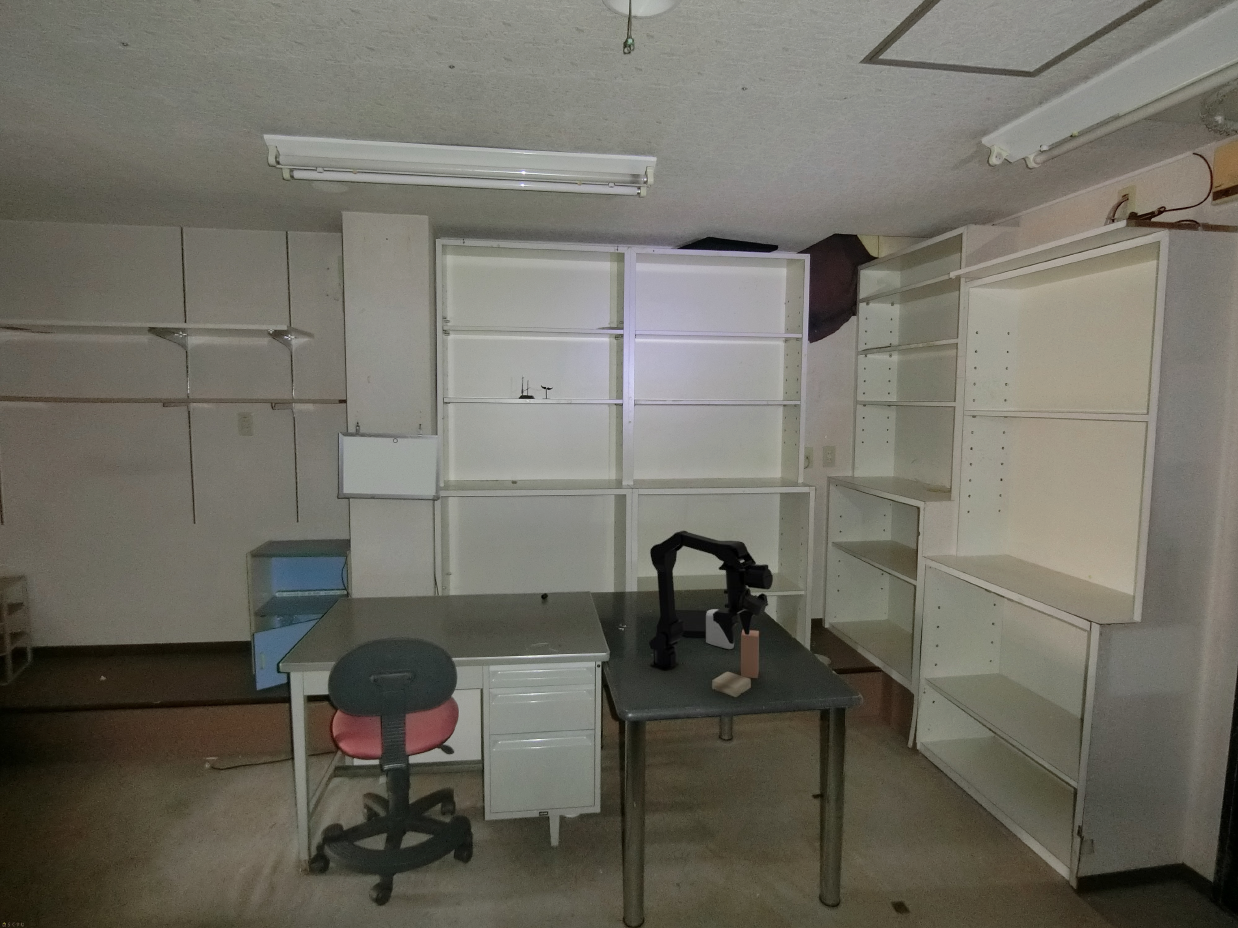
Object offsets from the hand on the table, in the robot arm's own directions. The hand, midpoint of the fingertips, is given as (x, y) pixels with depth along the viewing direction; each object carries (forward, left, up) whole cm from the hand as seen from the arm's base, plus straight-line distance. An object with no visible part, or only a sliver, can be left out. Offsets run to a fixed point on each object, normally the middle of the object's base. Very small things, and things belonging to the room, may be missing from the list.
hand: (739, 638), depth 183 cm
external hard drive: (-42, +33, -16) cm, 55 cm away
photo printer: (-23, +25, -15) cm, 37 cm away
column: (-3, +11, -15) cm, 19 cm away
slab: (-2, -1, -15) cm, 16 cm away
